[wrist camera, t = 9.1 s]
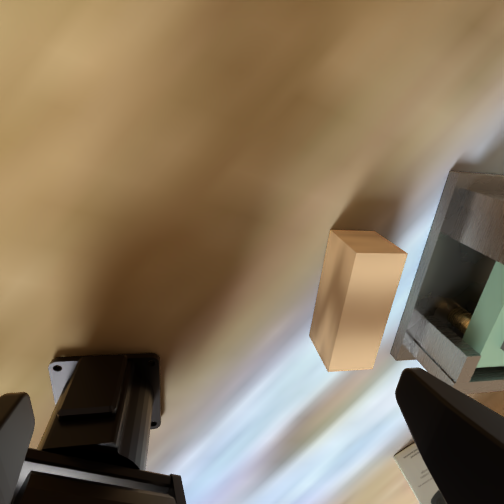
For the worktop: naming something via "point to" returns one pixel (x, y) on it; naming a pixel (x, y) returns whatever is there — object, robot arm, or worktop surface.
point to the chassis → (455, 283)
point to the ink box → (418, 476)
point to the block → (355, 298)
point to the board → (489, 321)
